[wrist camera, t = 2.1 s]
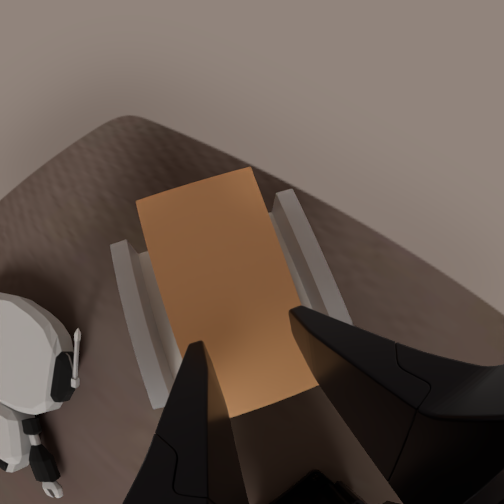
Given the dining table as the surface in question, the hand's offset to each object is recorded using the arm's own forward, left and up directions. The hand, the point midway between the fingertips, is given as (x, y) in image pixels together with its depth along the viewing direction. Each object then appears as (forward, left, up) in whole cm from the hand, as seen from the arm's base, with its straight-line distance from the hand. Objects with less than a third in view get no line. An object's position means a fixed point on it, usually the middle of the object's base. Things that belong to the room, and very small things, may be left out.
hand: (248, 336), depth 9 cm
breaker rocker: (+1, +2, -3) cm, 4 cm away
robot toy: (-16, +8, -13) cm, 22 cm away
